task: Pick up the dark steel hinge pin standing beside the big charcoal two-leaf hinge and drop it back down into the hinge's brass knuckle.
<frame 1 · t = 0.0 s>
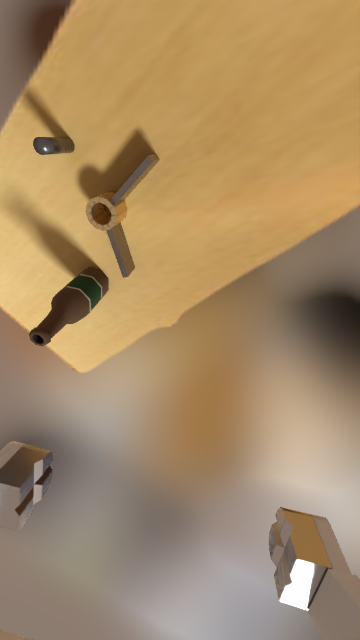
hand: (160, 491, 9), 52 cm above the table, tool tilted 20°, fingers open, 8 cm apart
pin: (68, 145, 51), on the table
beer bottle: (95, 280, 67), on the table
hinge: (112, 207, 56), on the table
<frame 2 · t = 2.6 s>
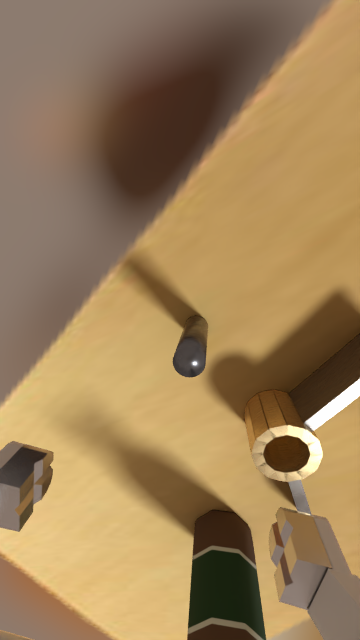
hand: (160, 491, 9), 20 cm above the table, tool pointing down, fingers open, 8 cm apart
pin: (196, 326, 28), on the table
beer bottle: (221, 529, 35), on the table
hinge: (272, 414, 30), on the table
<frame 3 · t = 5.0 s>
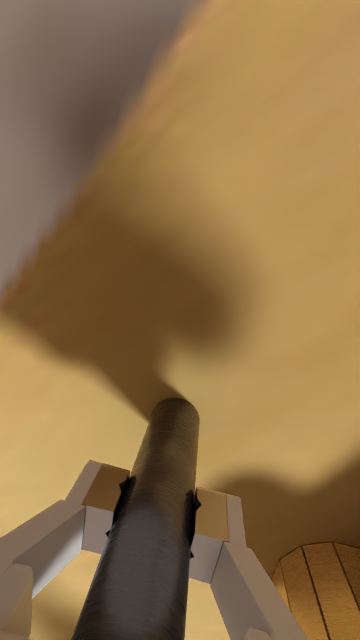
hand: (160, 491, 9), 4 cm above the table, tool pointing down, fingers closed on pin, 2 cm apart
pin: (175, 419, 13), on the table, touching gripper
hinge: (329, 583, 15), on the table
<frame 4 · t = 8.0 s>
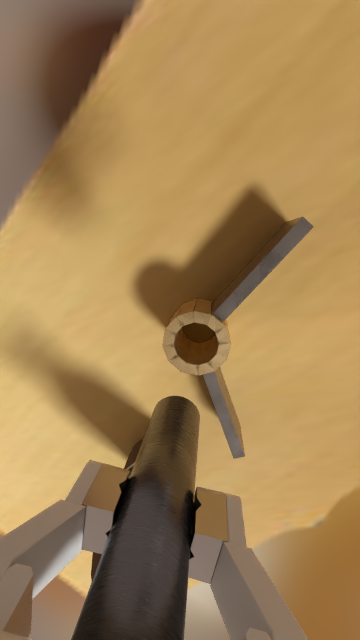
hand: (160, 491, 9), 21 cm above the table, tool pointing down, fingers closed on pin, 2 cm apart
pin: (176, 416, 14), point 17 cm above the table, touching gripper
beer bottle: (160, 454, 35), on the table
hinge: (199, 325, 30), on the table
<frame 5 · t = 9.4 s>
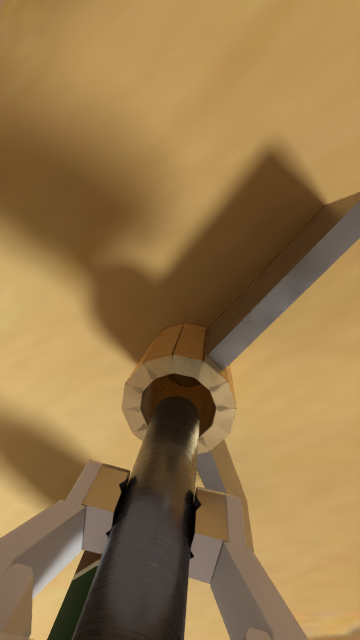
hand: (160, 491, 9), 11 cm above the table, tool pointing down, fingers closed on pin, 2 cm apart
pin: (176, 416, 14), point 7 cm above the table, touching gripper
beer bottle: (135, 534, 25), on the table
hinge: (187, 362, 20), on the table
when the fingers open (7 cm above the table, at t = 10.8 s): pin drops 3 cm, resting in hinge.
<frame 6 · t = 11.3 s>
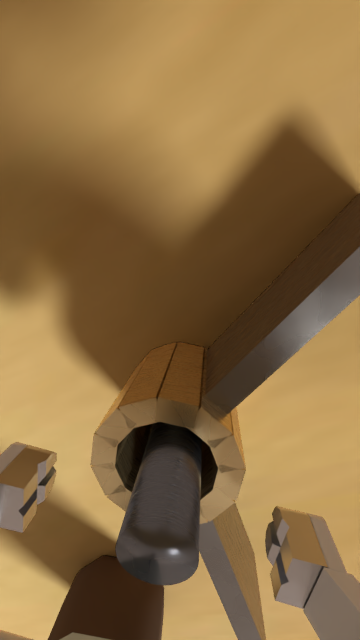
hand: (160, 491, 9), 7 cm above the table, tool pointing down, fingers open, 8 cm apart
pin: (183, 390, 16), resting in hinge
beer bottle: (122, 584, 22), on the table
hinge: (181, 389, 16), on the table
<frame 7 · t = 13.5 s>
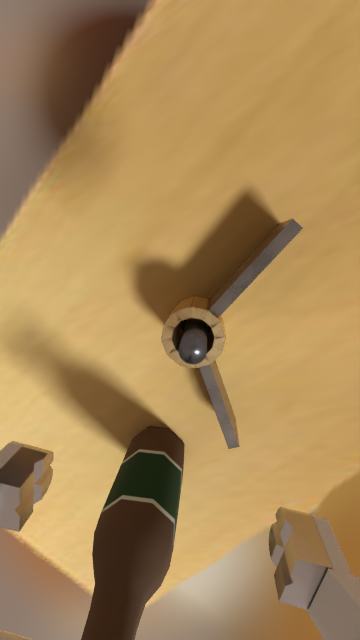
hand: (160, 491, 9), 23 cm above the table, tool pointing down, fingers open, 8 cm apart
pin: (197, 322, 31), resting in hinge
beer bottle: (159, 447, 37), on the table
hinge: (196, 322, 31), on the table
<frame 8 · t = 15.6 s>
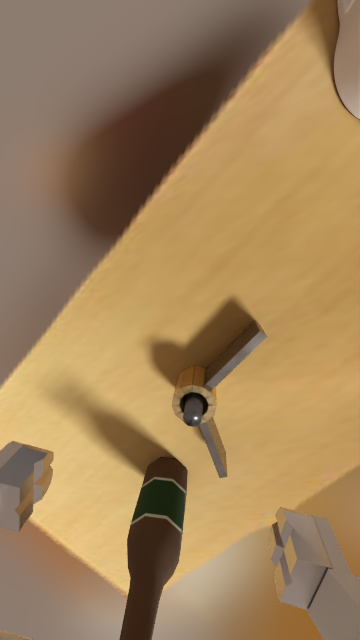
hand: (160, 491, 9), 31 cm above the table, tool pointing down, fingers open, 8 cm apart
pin: (197, 384, 43), resting in hinge
beer bottle: (168, 472, 48), on the table
hinge: (196, 383, 43), on the table
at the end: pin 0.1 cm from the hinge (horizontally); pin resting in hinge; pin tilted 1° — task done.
